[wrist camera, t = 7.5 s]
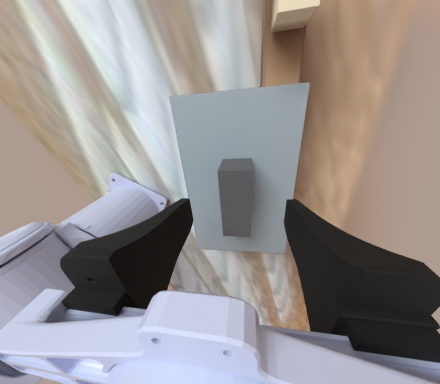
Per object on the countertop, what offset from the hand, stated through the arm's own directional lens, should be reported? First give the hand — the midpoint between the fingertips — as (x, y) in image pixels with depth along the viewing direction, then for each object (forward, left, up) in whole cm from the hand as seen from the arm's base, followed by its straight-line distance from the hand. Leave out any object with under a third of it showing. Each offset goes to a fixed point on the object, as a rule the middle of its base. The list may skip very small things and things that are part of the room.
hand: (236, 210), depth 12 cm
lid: (0, 0, -4) cm, 4 cm away
